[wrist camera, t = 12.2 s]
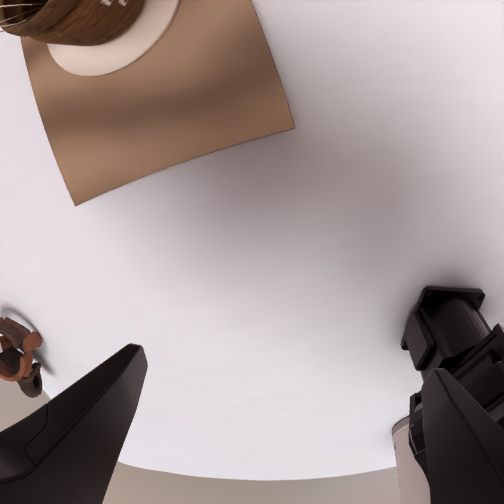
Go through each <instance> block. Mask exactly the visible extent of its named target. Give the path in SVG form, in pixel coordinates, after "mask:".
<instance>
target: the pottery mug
mask: <svg viewBox="0 0 504 504" xmlns="http://www.w3.org/2000/svg"><path fill="white" fill-rule="evenodd" d="M0 334H2V335H3V336H0V343H1V346H2V350H3V352H2V353H0V377H1V378H3V379H4V380H7V381H17V382H18V384H19V386H20V388H21V390H22V391H23V392H24V393H25V394H26V395H27V396H29V397H31V398H34V397H37V396H38V395H40V394H41V391H42V379H41V374H40V368H41V363H40V362H38V363H33V364H32V361H33V355H32V350H34V349H35V348H37V347H40V345H41V344H42V341H41V338H40V335H39V333H38V332H32V333H30V330H29V329H27V328H25V327H24V326H22V325H21V324H19V323H17V322H15V321H14V320H11V319H9V318H5V320H3V318H2V317H0ZM12 343H13V344H12ZM19 345H22V348H23V351H24V354H23V353H22V352H20V351H18V350H17V349H18V347H19ZM14 346H15V347H14Z"/></svg>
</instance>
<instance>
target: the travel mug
mask: <svg viewBox="0 0 504 504" xmlns="http://www.w3.org/2000/svg"><path fill="white" fill-rule="evenodd" d="M408 434H409V416H408V417H406V418H404V419H403V420H401V421H400V422H398V423H397V424H396V425H395V426H394V427H393V430H392V436H393V441H394V449H395V456H396V463H397V471H398V479H399V488H400V498H401V504H430V488H429V484H428V481H427V479H426V476H425V474H424V472H423V470H422V468H421V467H420V465H419V464H418V463H417V461H416V460H415V459H414V455H413V453H412V451H411V448H410V446H409V436H408Z"/></svg>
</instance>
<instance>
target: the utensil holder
mask: <svg viewBox="0 0 504 504" xmlns="http://www.w3.org/2000/svg"><path fill="white" fill-rule="evenodd" d="M144 2H145V0H0V27H1V28H2V29H3V30H4V31H5V32H7V33H10V34H13V35H16V36H22V37H27V36H29V37H30V38H32V39H34V40H36V41H39V42H43V43H48V44H59V45H71V46H97V45H102V44H105V43H107V42H110V41H112V40H114V39H116V38H117V37H119V36H120V35H121V34H123V33H124V32H125V31H126V30H127V29H128V28H129V27H130V26H131V25H132V24H133V23H134V21H135V20H136V19H137V17H138V16H139V14H140V12H141V10H142V8H143V5H144ZM0 32H3V31H0Z"/></svg>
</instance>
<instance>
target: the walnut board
mask: <svg viewBox="0 0 504 504" xmlns="http://www.w3.org/2000/svg"><path fill="white" fill-rule="evenodd" d="M20 38H21V43H22V48H23V53H24V57H25V62H26V66H27V70H28V74H29V78H30V82H31V86H32V89H33V93H34V96H35V100H36V103H37V106H38V110H39V113H40V116H41V119H42V122H43V125H44V128H45V131H46V134H47V137H48V140H49V143H50V146H51V148H52V151H53V154H54V156H55V159H56V162H57V164H58V167H59V169H60V172H61V174H62V177H63V179H64V182H65V184H66V186H67V189H68V191H69V194H70V196H71V198H72V200H73V203H74V205H75V206H78V205H80V204H82V203H84V202H86V201H88V200H90V199H93V198H95V197H97V196H99V195H102V194H104V193H106V192H108V191H111V190H113V189H115V188H118V187H120V186H123V185H125V184H127V183H130V182H132V181H135V180H137V179H140V178H142V177H145V176H147V175H150V174H152V173H155V172H158V171H160V170H163V169H165V168H168V167H171V166H174V165H176V164H179V163H182V162H185V161H187V160H190V159H193V158H196V157H199V156H202V155H205V154H208V153H211V152H214V151H217V150H220V149H223V148H226V147H229V146H233V145H236V144H239V143H243V142H246V141H249V140H253V139H256V138H260V137H263V136H267V135H270V134H274V133H278V132H281V131H285V130H289V129H293V128H295V126H294V122H293V119H292V116H291V113H290V109H289V106H288V103H287V100H286V97H285V94H284V91H283V88H282V85H281V82H280V79H279V76H278V73H277V70H276V67H275V64H274V61H273V58H272V55H271V53H270V50H269V47H268V44H267V41H266V39H265V36H264V33H263V31H262V28H261V25H260V23H259V20H258V18H257V15H256V12H255V10H254V7H253V5H252V2H251V0H145V2H144V5H143V8H142V10H141V12H140V14H139V16H138V17H137V19H136V20H135V21H134V23H133V24H132V25H131V26H130V27H129V28H128V29H127V30H126V31H125V32H124V33H123V34H121V35H120V36H119V37H117V38H116V39H114V40H112V41H110V42H107V43H105V44H102V45H97V46H71V45H59V44H48V43H43V42H39V41H36V40H34V39H32V38H30V37H29V36H27V37H22V36H20Z"/></svg>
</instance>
